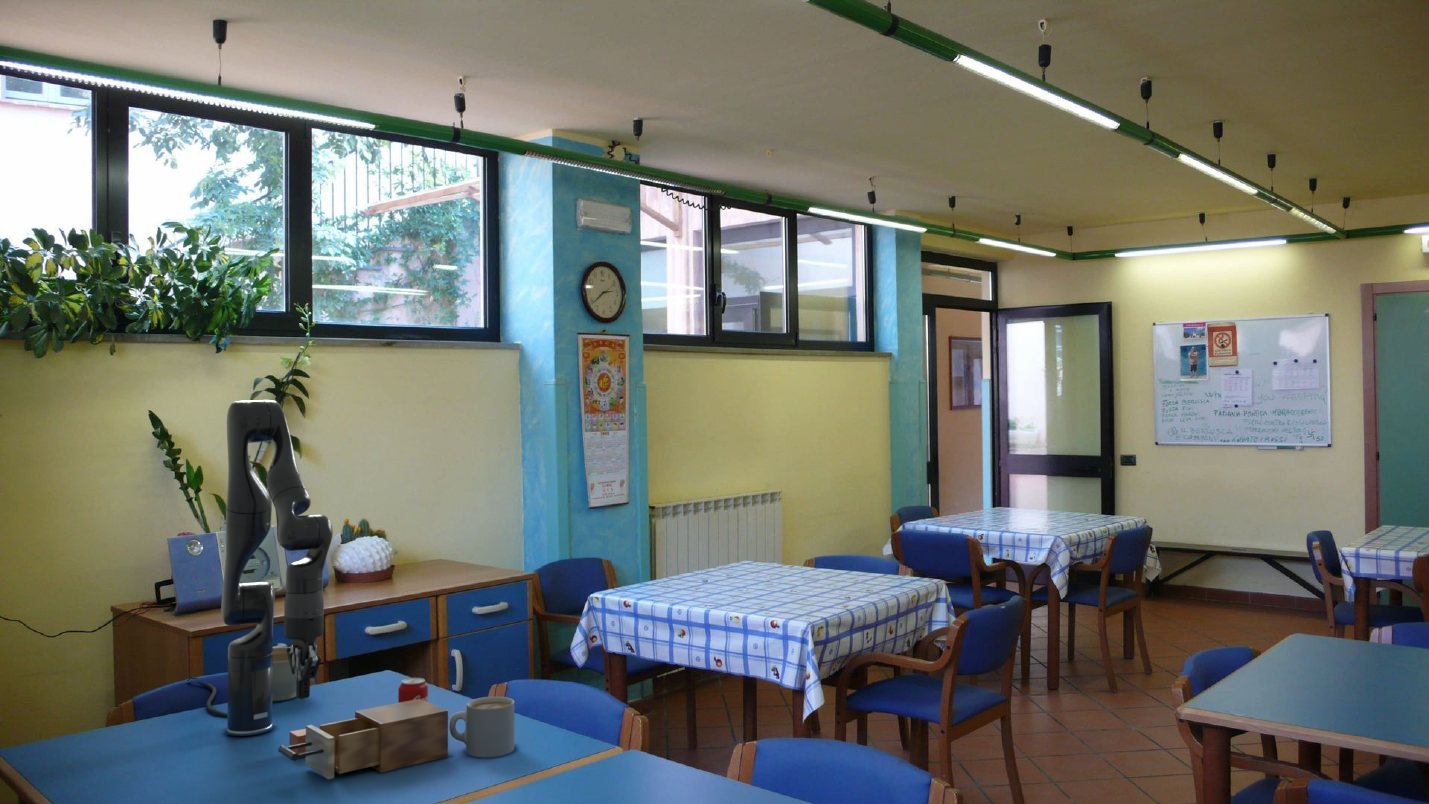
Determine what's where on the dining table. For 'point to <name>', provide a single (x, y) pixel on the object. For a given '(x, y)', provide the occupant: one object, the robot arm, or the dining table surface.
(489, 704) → the coffee mug
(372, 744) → the drawer
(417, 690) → the beverage can
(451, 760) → the dining table surface
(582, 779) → the dining table surface
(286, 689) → the planter bowl
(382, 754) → the cabinet
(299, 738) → the block
